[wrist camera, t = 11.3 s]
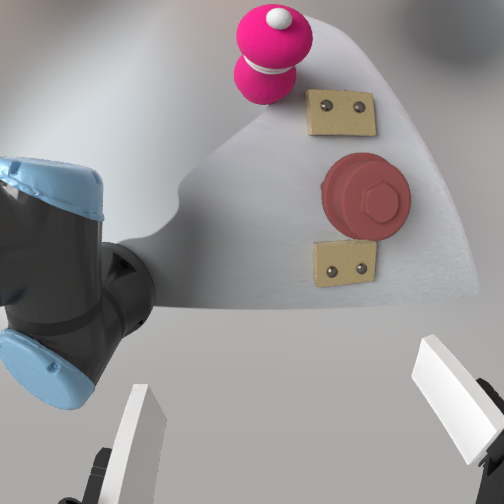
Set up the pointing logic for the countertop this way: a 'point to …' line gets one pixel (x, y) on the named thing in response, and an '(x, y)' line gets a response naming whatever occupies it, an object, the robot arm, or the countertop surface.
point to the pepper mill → (270, 52)
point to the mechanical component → (365, 197)
